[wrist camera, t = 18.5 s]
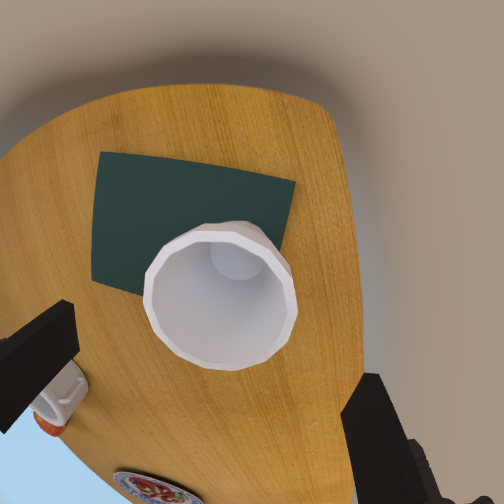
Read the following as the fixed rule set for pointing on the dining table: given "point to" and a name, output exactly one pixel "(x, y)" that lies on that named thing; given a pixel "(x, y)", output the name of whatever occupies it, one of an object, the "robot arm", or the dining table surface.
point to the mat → (172, 210)
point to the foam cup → (221, 296)
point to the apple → (50, 426)
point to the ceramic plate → (153, 489)
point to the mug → (61, 395)
